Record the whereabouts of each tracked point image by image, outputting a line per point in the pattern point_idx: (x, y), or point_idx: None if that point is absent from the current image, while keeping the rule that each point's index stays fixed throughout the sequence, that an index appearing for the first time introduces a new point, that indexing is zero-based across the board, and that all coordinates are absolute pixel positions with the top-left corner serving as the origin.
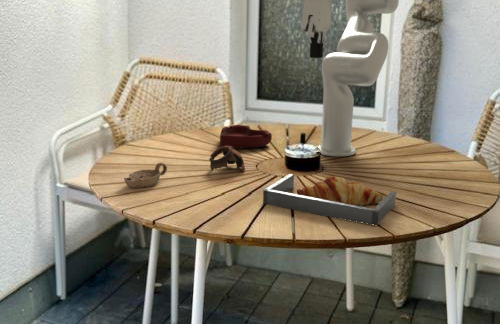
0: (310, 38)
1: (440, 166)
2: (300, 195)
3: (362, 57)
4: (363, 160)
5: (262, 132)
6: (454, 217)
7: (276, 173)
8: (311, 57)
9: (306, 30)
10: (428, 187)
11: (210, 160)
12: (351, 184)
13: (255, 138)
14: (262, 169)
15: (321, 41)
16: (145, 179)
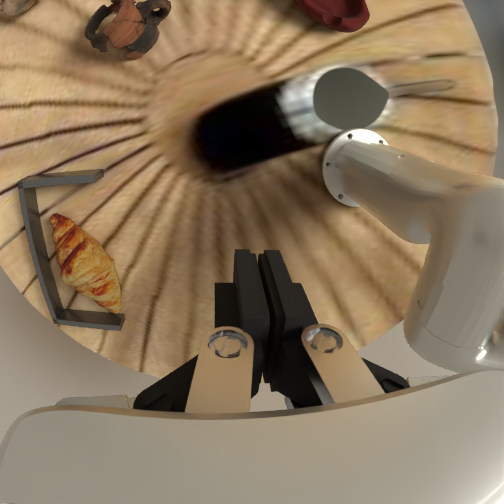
0: (156, 383)
1: None
2: (31, 235)
3: (459, 348)
4: (320, 229)
5: (359, 10)
6: (135, 365)
7: (156, 112)
8: (234, 258)
9: (187, 427)
10: None
11: (95, 12)
12: (86, 289)
13: (303, 5)
14: (167, 77)
15: (285, 394)
16: (6, 13)
